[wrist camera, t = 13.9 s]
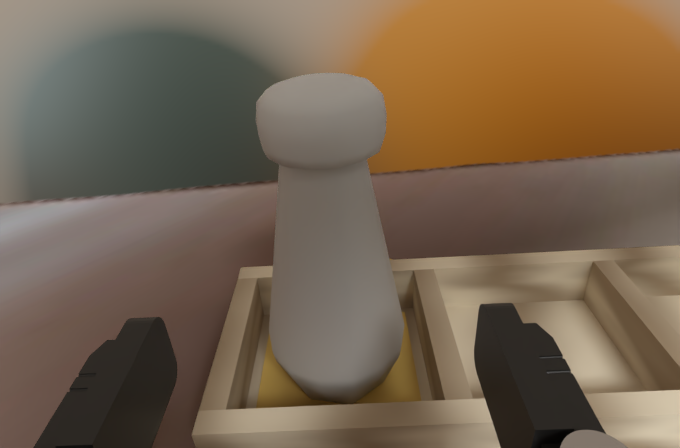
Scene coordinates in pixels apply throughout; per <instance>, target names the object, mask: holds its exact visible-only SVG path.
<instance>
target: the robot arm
mask: <svg viewBox="0 0 680 448" xmlns="http://www.w3.org/2000/svg"><path fill="white" fill-rule="evenodd" d="M474 361H475V368H476V372H477V376H478V379H479V382H480V385H481V388H482V391H483V394H484V397H485V400H486V404H487V407H488V410H489V413H490V416H491V419H492V422H493V425H494V428H495V431H496V434H497V438H498V441H499V444H500V447H501V448H628V447H627V446H625V445H624V444H623V443H622V442H620V441H619V440H617V439H615V438H614V437H612V436H610V435H607V434H606V432H605V431H604V429H603V428H602V426H601V424H600V422H599V420H598V418H597V417H596V415H595V413H594V411H593V409H592V408H591V406H590V404H589V402H588V400H587V398H586V397H585V395H584V393H583V391H582V389H581V388H580V386H579V384H578V382H577V380H576V378H575V377H574V375H573V373H571V369H570V368H569V366H568V364H567V362H566V360H565V359H563V355H562V353H561V351H560V349H559V347H558V346H557V344H556V342H555V340H554V338H553V337H552V336H551V335H550V334H548V333H547V332H546V331H545V330H544V329H543V328H542V327H540V326H539V325H538V324H537V323H523V322H522V320H521V318H520V316H519V314H518V312H517V310H516V308H515V306H514V305H513V304H512V303H491V304H481V305H480V307H479V311H478V320H477V328H476V336H475V345H474ZM176 378H177V362H176V358H175V355H174V352H173V348H172V345H171V342H170V339H169V336H168V333H167V330H166V327H165V324H164V321H163V320H162V318H160V317H152V318H131V319H128V320H127V321H126V323H125V324H124V326H123V328H122V329H121V331H120V333H119V335H118V336H117V338H116V340H107V341H106V342H105V343H103V344H102V345H101V346H100V347H99V348H98V349H97V350H96V351H95V352H93V353H92V354H91V355H90V356H89V358H88V359H87V361H86V363H85V364H84V366H83V368H82V369H81V371H80V372H79V377H76V379H75V381H74V382H73V384H72V386H71V387H70V392H67V394H66V395H65V397H64V399H63V400H62V402H61V404H60V405H59V407H58V408H57V410H56V412H55V413H54V415H53V417H52V418H51V420H50V422H49V423H48V425H47V426H46V428H45V430H44V431H43V433H42V435H41V436H40V438H39V440H38V441H37V443H36V444H35V446H34V448H151V447H152V445H153V442H154V439H155V437H156V434H157V431H158V429H159V426H160V423H161V421H162V418H163V415H164V413H165V410H166V407H167V405H168V402H169V399H170V397H171V394H172V391H173V389H174V386H175V383H176Z"/></svg>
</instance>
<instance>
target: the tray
mask: <svg viewBox="0 0 680 448" xmlns="http://www.w3.org/2000/svg"><path fill="white" fill-rule="evenodd" d="M390 264H391V268H392V272H393V277H394V281H395V286H396V290H397V294H398V299H399V303H400V307H401V312H402V316H403V320H404V332H403V338H402V345H401V351H400V356H399V357H398V359H397V361H396V362H395V364H394V366H393V367H392V369H391V370H390V372H389V374H388V375H387V377H386V379H385V380H384V382H383V383H382V384H380V385H379V386H377V387H376V388H375V389H373V390H372V391H371V392H369V393H368V394H366V395H365V396H364V397H362V398H361V399H360V400H358V401H357V402H355V403H354V404H342V403H335V402H328V401H321V400H314V399H310V398H309V397H308V396H307V394H306V393H305V392H304V391H303V390H302V389H301V388H300V387H299V385H298V384H297V383H296V382H295V381H294V380H293V379H292V378H291V376H290V375H289V374H288V373H287V372H286V371H285V370H284V369H283V368H282V367H281V366H280V364H279V363H278V362H277V361H276V359H275V356H274V354H273V351H272V345H271V340H270V334H269V321H270V305H271V289H272V273H273V266H259V267H241V270H240V273H239V277H238V280H237V283H236V287H235V290H234V293H233V297H232V300H231V303H230V307H229V310H228V314H227V317H226V320H225V324H224V327H223V330H222V334H221V337H220V341H219V344H218V347H217V351H216V354H215V357H214V361H213V364H212V367H211V371H210V374H209V378H208V381H207V384H206V388H205V391H204V394H203V398H202V401H201V405H200V408H199V411H198V415H197V418H196V421H195V425H194V428H193V431H192V438H193V441H194V444H195V447H196V448H501V447H500V444H499V441H498V438H497V434H496V431H495V428H494V425H493V422H492V419H491V416H490V413H489V410H488V407H487V404H486V400H485V397H484V394H483V391H482V388H481V385H480V382H479V379H478V376H477V372H476V368H475V361H474V345H475V336H476V328H477V320H478V311H479V307H480V305H481V304H491V303H512V304H513V305H514V306H515V308H516V310H517V312H518V314H519V316H520V318H521V320H522V322H523V323H537V324H538V325H539V326H540V327H542V328H543V329H544V330H545V331H546V332H547V333H548V334H550V335H551V336H552V337H553V338H554V340H555V342H556V344H557V346H558V347H559V349H560V351H561V353H562V355H563V359H565V360H566V362H567V364H568V366H569V368H570V369H571V373H573V375H574V377H575V378H576V380H577V382H578V384H579V386H580V388H581V389H582V391H583V393H584V395H585V397H586V398H587V400H588V402H589V404H590V406H591V408H592V409H593V411H594V413H595V415H596V417H597V418H598V420H599V422H600V424H601V426H602V428H603V429H604V431H605V432H606V434H607V435H610V436H612V437H614V438H615V439H617V440H619V441H620V442H622V443H623V444H624V445H625V446H627V447H628V448H680V245H675V246H655V247H635V248H616V249H596V250H576V251H556V252H536V253H516V254H497V255H477V256H457V257H437V258H417V259H397V260H392V259H390Z"/></svg>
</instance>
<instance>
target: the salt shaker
mask: <svg viewBox="0 0 680 448" xmlns="http://www.w3.org/2000/svg"><path fill="white" fill-rule="evenodd" d="M256 124H257V128H258V133H259V138H260V142H261V145H262V148H263V151H264V152H265V154H266V156H267V158H268V159H270V160H272V161H274V162H276V163H278V164H279V177H278V193H277V209H276V225H275V241H274V257H273V273H272V289H271V305H270V321H269V334H270V340H271V345H272V351H273V354H274V356H275V359H276V361H277V362H278V363H279V364H280V366H281V367H282V368H283V369H284V370H285V371H286V372H287V373H288V374H289V375H290V376H291V378H292V379H293V380H294V381H295V382H296V383H297V384H298V385H299V387H300V388H301V389H302V390H303V391H304V392H305V393H306V394H307V396H308V397H309V398H310V399H314V400H321V401H328V402H335V403H342V404H354V403H355V402H357V401H358V400H360V399H361V398H362V397H364V396H365V395H366V394H368V393H369V392H371V391H372V390H373V389H375V388H376V387H377V386H379V385H380V384H382V383H383V382H384V380H385V379H386V377H387V375H388V374H389V372H390V370H391V369H392V367H393V366H394V364H395V362H396V361H397V359H398V357H399V356H400V351H401V345H402V338H403V332H404V320H403V316H402V312H401V307H400V303H399V299H398V294H397V290H396V286H395V281H394V277H393V272H392V268H391V264H390V259H389V255H388V251H387V246H386V242H385V238H384V233H383V229H382V225H381V220H380V216H379V211H378V207H377V203H376V198H375V194H374V190H373V185H372V181H371V177H370V172H369V168H368V164H367V159H368V158H370V157H371V156H373V155H375V154H377V153H378V152H379V151H380V148H381V145H382V142H383V139H384V136H385V133H386V109H385V104H384V98H383V94H382V93H381V92H380V91H379V90H378V89H377V88H376V87H375V86H374V85H373V84H372V83H371V82H370V81H368V80H367V79H366V78H361V77H356V76H352V75H348V74H342V73H318V74H308V75H303V76H297V77H294V78H291V79H287V80H284V81H282V82H279V83H276V84H273V85H272V86H271V87H269V88H268V89H267V90H266V91H265V92H264V93H263V94H262V95H261V97H260V98H259V99H258V101H257V103H256Z"/></svg>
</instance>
